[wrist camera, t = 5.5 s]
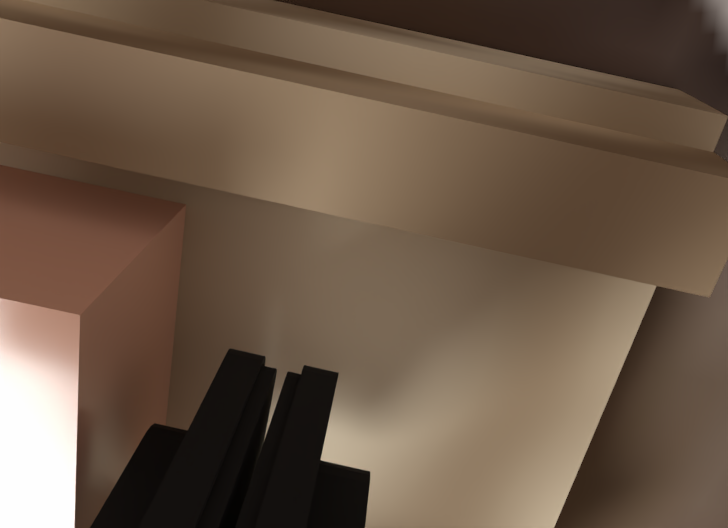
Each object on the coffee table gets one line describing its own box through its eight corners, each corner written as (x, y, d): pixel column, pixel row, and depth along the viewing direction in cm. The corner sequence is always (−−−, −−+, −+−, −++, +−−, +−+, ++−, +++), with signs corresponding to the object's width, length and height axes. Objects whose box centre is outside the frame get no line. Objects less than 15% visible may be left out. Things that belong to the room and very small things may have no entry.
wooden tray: (679, 89, 11) (780, 143, 8) (479, 605, 16) (491, 767, 13) (-246, -115, 11) (-522, -143, 8) (-159, 467, 16) (-305, 595, 13)
